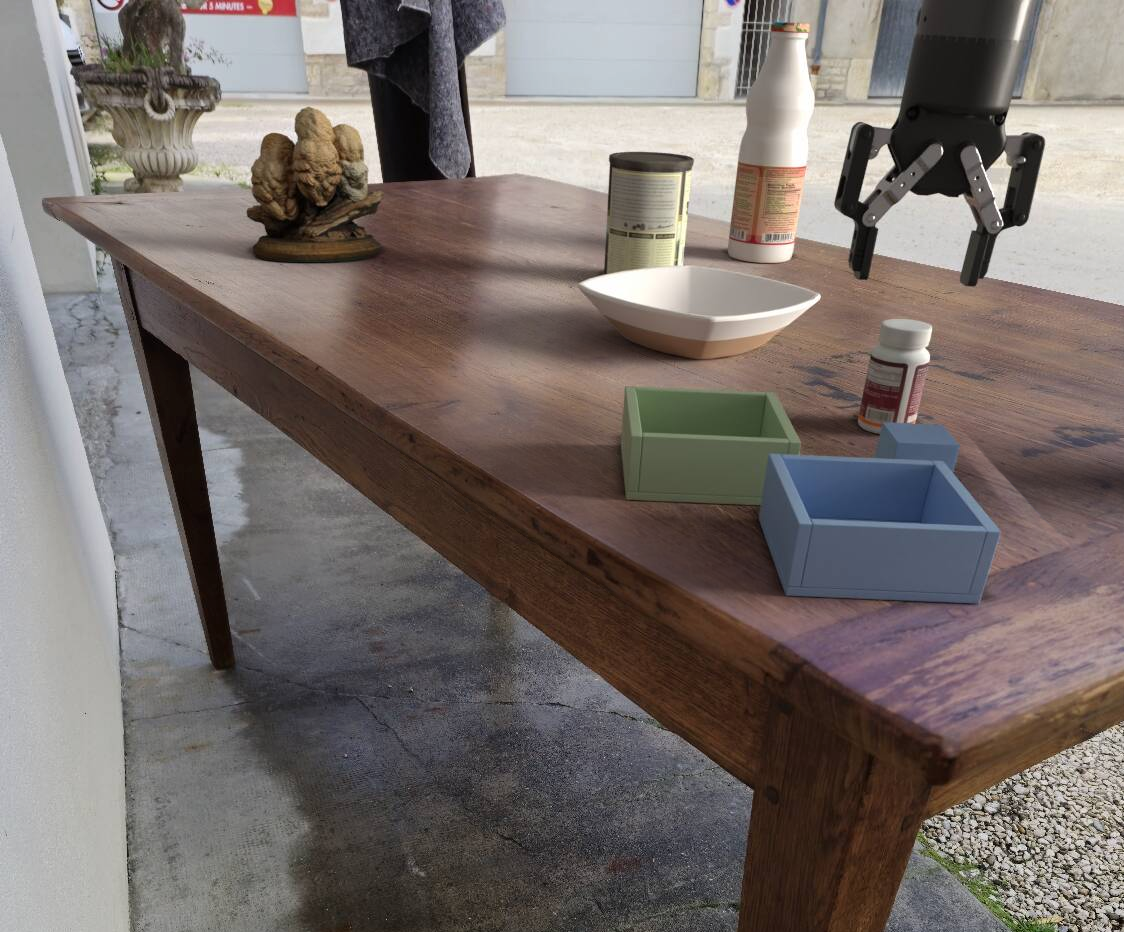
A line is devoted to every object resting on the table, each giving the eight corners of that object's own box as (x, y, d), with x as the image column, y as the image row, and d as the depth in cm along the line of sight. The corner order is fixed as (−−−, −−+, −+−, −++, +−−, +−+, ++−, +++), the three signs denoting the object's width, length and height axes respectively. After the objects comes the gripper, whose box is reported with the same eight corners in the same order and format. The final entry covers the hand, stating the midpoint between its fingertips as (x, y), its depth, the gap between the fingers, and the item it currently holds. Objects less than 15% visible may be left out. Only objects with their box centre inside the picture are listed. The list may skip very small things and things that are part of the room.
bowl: (838, 348, 110) (847, 295, 107) (708, 383, 97) (715, 324, 94) (681, 308, 122) (686, 260, 119) (549, 335, 110) (550, 282, 107)
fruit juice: (716, 258, 149) (743, 20, 133) (741, 249, 156) (770, 21, 140) (777, 267, 146) (813, 23, 129) (801, 257, 152) (837, 24, 136)
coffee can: (591, 273, 137) (597, 150, 129) (663, 272, 140) (674, 151, 131) (618, 290, 129) (627, 161, 121) (694, 288, 132) (708, 161, 124)
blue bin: (926, 526, 71) (943, 460, 69) (979, 604, 62) (1001, 531, 59) (758, 519, 71) (768, 453, 69) (785, 596, 62) (798, 523, 59)
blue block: (927, 482, 78) (942, 424, 76) (944, 505, 75) (960, 444, 72) (869, 480, 78) (882, 421, 76) (883, 502, 75) (897, 442, 72)
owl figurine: (376, 244, 148) (368, 103, 138) (397, 260, 139) (390, 111, 129) (246, 248, 142) (228, 101, 132) (260, 265, 133) (241, 109, 123)
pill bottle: (897, 417, 91) (919, 316, 86) (923, 435, 87) (948, 331, 82) (846, 419, 90) (867, 317, 85) (871, 437, 86) (894, 332, 82)
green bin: (766, 450, 83) (775, 392, 80) (790, 507, 73) (801, 442, 71) (620, 444, 83) (624, 385, 80) (626, 500, 73) (630, 435, 70)
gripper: (883, 26, 69) (834, 286, 79) (1093, 39, 70) (1019, 297, 79) (858, 25, 76) (815, 267, 85) (1051, 37, 76) (988, 276, 85)
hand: (914, 281), depth 82 cm, fingers open, 8 cm apart
